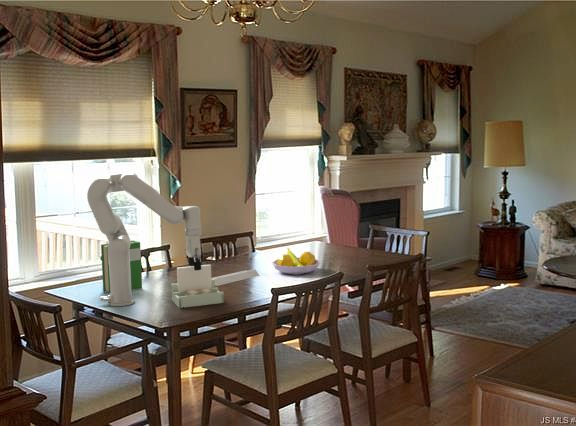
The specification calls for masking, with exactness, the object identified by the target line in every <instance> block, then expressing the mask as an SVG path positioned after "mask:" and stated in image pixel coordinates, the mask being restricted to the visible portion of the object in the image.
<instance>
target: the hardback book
mask: <svg viewBox="0 0 576 426" xmlns="http://www.w3.org/2000/svg"><path fill="white" fill-rule="evenodd" d="M130 241H131V246H130V249H129V256H130V271H131V291H136V290H140V289H141V290H142V289H143V281H142V279H143V277H142V256H141V254H142V253H141V242H140V241H138V240H130ZM108 244H109V243H103V244H100V250H101V251H100V252H101V270H102V271H101V272H102V290H103V291H106V292H108V294H109V293H110V273H109V259H108Z"/></svg>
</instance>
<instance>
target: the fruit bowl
mask: <svg viewBox="0 0 576 426" xmlns="http://www.w3.org/2000/svg"><path fill="white" fill-rule="evenodd" d="M286 249H287V253H286V254H284V253H283V254H282V255H281V256H279V257H278V258H277V259H275V260H274V261H271V264H272V265H273V268H274V269H275V270H277V271H278V272H281V273H283V274H287V275H295V276H298V274H299V275H305V274H309V273H311V272H313V271H315V270H317V269H318V267H319V266H320V263H321V261H320V260H318V259H316V256H315V255H314V254H313V253H312V252H310V251H304V252H303V253H301V255H300V256H299V257H297V256H296V255H295V254H294V253H293V252H292V251H291V250H290V248H289V247H288V248H287V247H286ZM304 273H305V274H304Z"/></svg>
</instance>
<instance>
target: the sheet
mask: <svg viewBox="0 0 576 426" xmlns="http://www.w3.org/2000/svg"><path fill="white" fill-rule="evenodd" d="M211 278H212V265H211V264H201V270H196V271H195V270H194V266H189V265H188V266H182V267H176V280H177V281H176V283H177V287H178V292H182V291H188V290H197V289H206V288H208V289H210V288H212V283H211Z"/></svg>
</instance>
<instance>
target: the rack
mask: <svg viewBox="0 0 576 426" xmlns="http://www.w3.org/2000/svg"><path fill="white" fill-rule="evenodd" d="M211 283H212V288H210V290H211V291H212V293H207V294H198V295H189V296H186V295H185V291H182V292H178V287H177V282H176V283H171V284H170V287H171V289H170V290H171V302H172V303H174V304H175V305H176V307H178V308H179V309H182V308H183V307H184V308H190V307H200V306H207V305H215V304H224V303H225V300H224V299H225V292H224V291H220V290H219V288H218V287H216V286H215V280H214V279H213V280H211Z"/></svg>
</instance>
